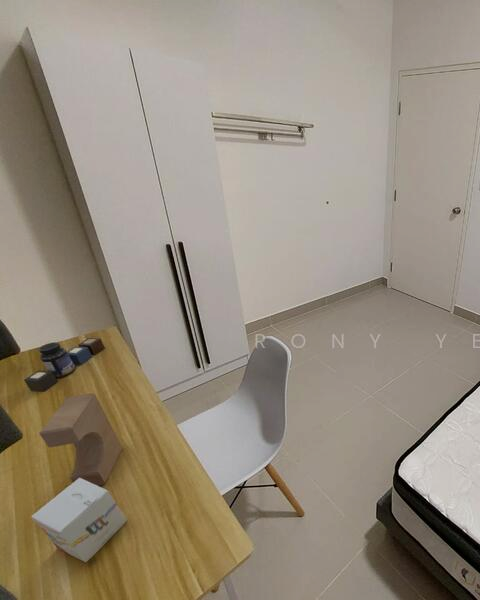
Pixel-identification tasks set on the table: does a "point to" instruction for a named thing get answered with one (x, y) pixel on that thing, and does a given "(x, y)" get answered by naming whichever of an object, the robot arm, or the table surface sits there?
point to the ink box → (80, 519)
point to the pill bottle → (56, 359)
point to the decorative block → (85, 437)
